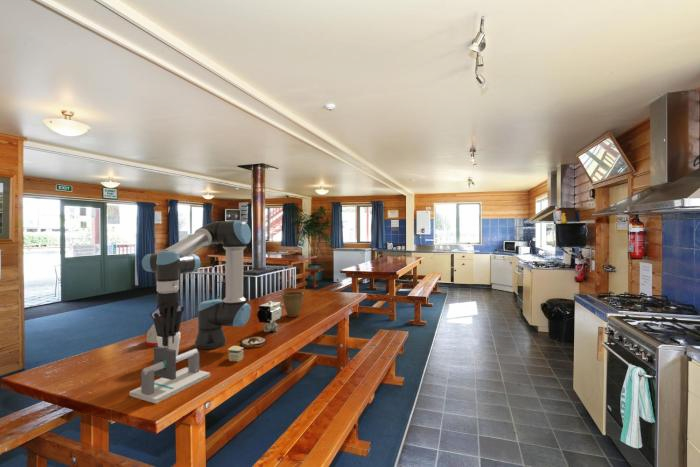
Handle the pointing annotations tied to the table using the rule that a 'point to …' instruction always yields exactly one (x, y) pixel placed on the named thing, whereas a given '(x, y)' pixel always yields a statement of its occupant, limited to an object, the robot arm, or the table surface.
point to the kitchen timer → (152, 336)
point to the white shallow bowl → (253, 342)
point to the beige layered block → (235, 353)
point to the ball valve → (270, 315)
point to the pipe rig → (167, 387)
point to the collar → (170, 359)
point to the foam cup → (175, 345)
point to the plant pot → (293, 302)
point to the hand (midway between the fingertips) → (168, 353)
